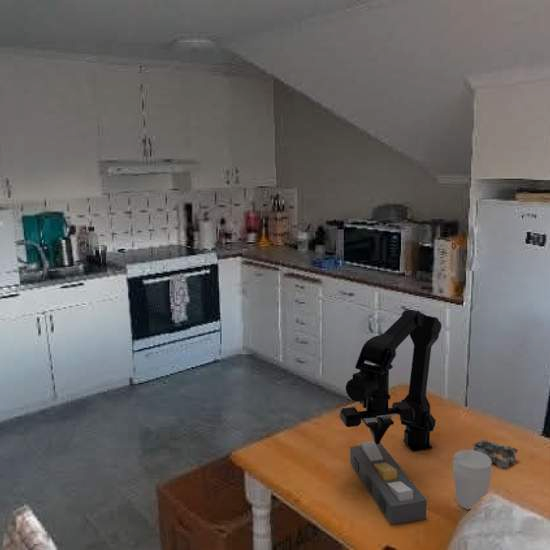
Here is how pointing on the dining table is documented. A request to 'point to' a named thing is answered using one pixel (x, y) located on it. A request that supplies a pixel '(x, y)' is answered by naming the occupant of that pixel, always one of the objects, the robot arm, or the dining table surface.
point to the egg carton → (495, 448)
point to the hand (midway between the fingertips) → (376, 443)
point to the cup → (471, 476)
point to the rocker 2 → (385, 471)
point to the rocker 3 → (400, 491)
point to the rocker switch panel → (381, 492)
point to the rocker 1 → (371, 451)
